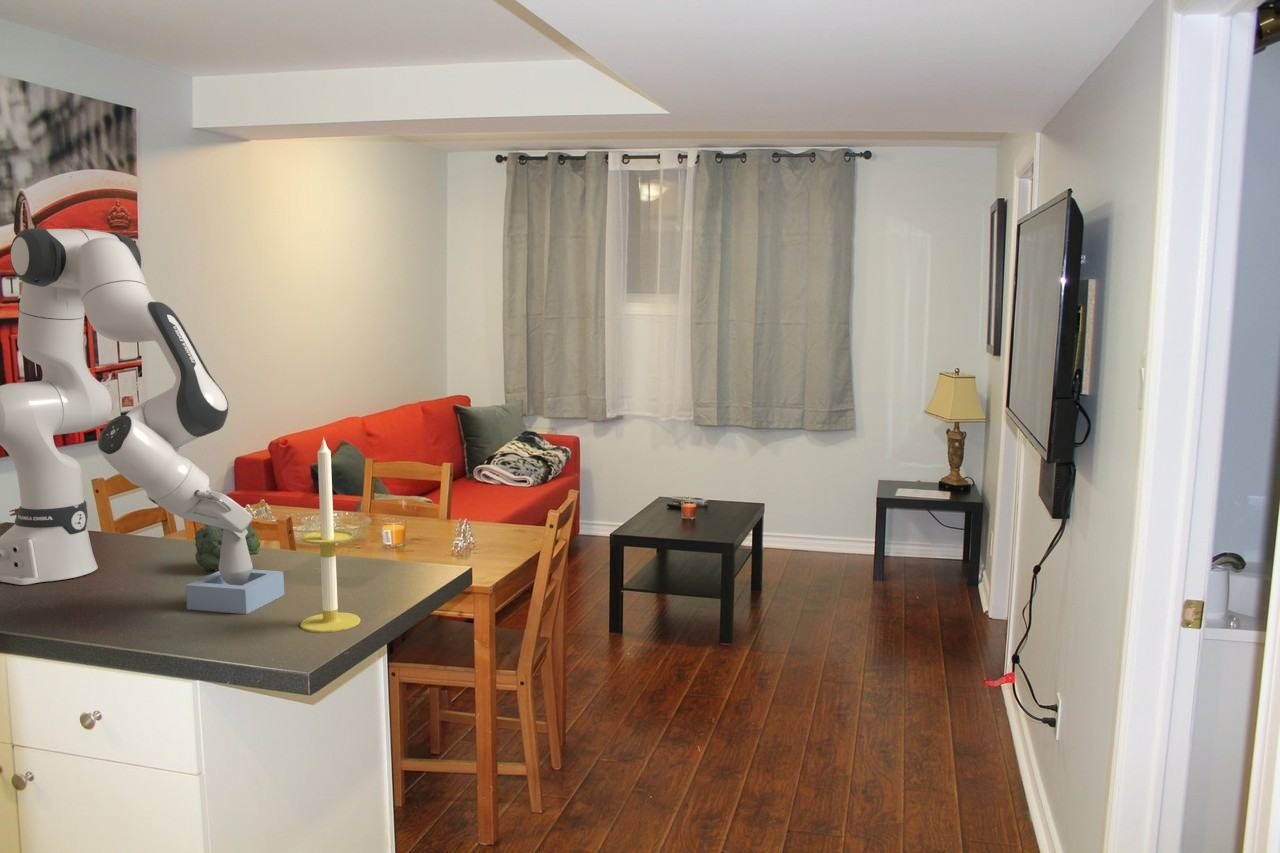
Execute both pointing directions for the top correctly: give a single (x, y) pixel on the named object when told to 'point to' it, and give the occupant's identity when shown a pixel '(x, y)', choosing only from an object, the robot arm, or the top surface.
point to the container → (235, 592)
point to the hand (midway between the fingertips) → (237, 533)
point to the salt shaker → (234, 559)
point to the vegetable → (218, 546)
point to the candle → (327, 555)
